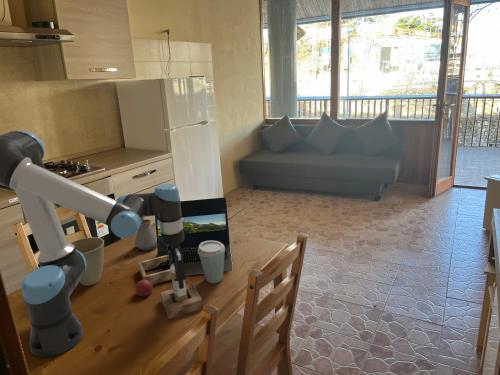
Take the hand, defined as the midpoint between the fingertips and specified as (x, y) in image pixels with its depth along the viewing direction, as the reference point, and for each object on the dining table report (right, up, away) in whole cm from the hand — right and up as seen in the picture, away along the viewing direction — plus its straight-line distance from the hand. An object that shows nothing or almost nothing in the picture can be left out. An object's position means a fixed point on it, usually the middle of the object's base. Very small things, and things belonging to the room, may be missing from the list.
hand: (179, 291), depth 135 cm
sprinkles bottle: (0, -3, +1) cm, 3 cm away
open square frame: (-13, +1, +23) cm, 27 cm away
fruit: (-14, -4, +9) cm, 17 cm away
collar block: (0, -5, +2) cm, 5 cm away
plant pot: (-40, -2, +21) cm, 45 cm away
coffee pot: (-28, +7, +46) cm, 54 cm away
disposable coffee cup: (+11, 0, +17) cm, 20 cm away
